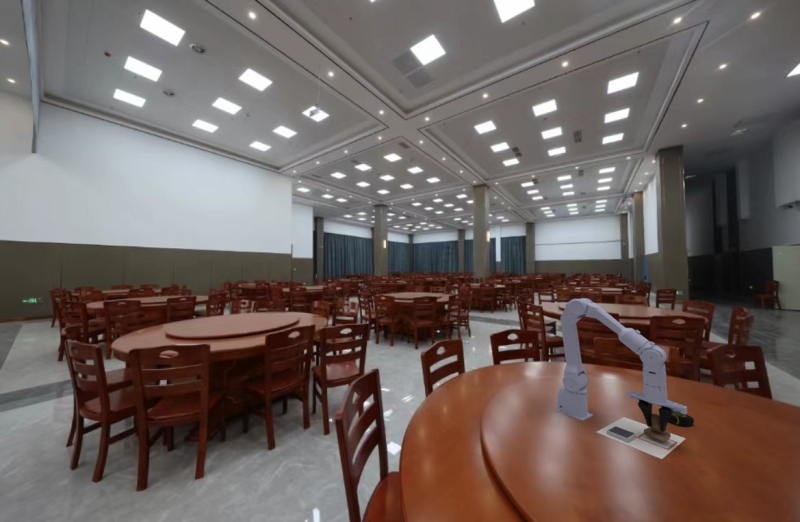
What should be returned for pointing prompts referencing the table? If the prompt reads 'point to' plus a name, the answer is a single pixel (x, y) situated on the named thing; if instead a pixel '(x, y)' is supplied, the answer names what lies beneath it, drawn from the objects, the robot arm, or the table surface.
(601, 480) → the table surface
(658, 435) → the stamp
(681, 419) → the tape measure
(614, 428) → the stamping mat
